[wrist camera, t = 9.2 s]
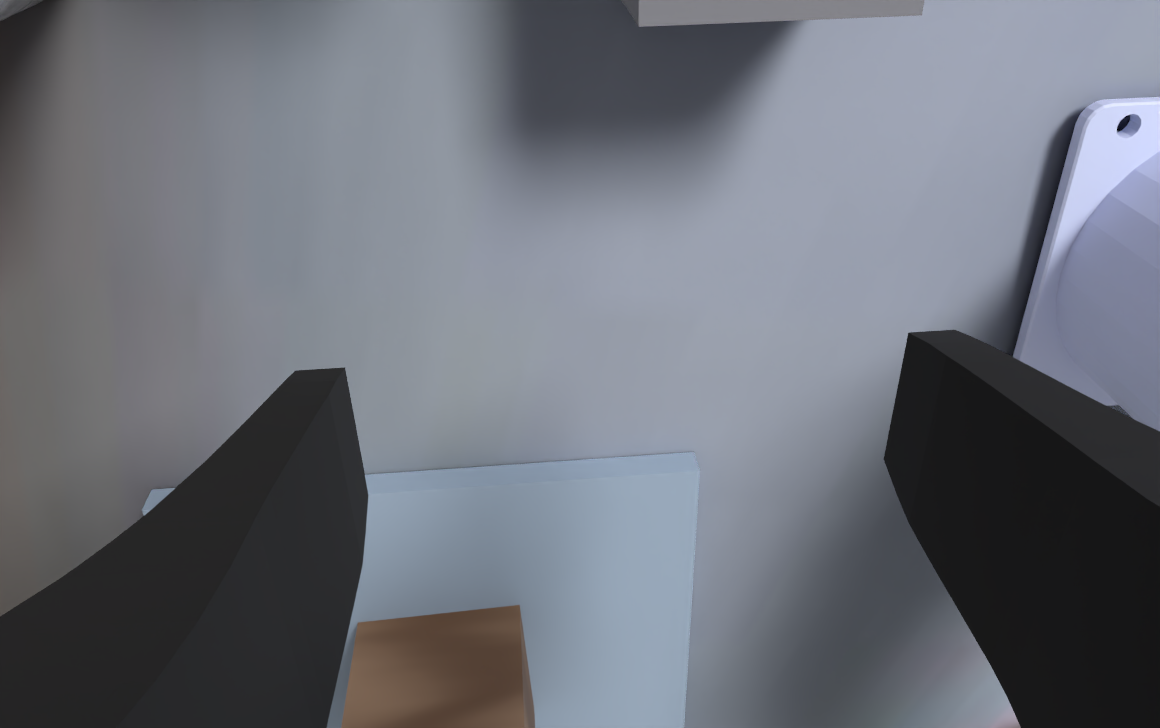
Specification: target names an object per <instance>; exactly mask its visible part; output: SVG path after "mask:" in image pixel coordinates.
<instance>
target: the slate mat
mask: <svg viewBox="0 0 1160 728" xmlns="http://www.w3.org/2000/svg"><path fill="white" fill-rule="evenodd" d="M699 478H700V469H699V466H698V463H697V460H696V457H695V453H694V452H685V453H671V454H657V455H642V456H628V457H613V458H599V459H584V460H570V461H555V462H541V463H526V464H512V465H497V466H483V467H469V468H454V469H440V470H425V471H411V472H396V473H382V474H367V475H365V479H366V485H367V490H368V495H369V496H368V509H367V522H366V535H365V545H364V556H363V565H362V570H361V575H360V580H359V584H358V589H357V593H356V598H355V603H354V607H353V612H352V616H351V621H350V625H349V630H348V634H347V639H346V643H345V647H344V652H343V656H342V661H341V665H340V670H339V674H338V679H337V683H336V687H335V692H334V696H333V701H332V705H331V710H330V714H329V719H328V724H327V728H341V725H342V719H343V713H344V706H345V700H346V694H347V688H348V681H349V675H350V669H351V662H352V656H353V650H354V643H355V637H356V631H357V624H358V622H367V621H377V620H386V619H395V618H404V617H413V616H422V615H431V614H440V613H450V612H459V611H468V610H477V609H486V608H495V607H504V606H513V605H520V611H521V618H522V625H523V632H524V639H525V646H526V653H527V660H528V668H529V675H530V682H531V689H532V696H533V703H534V713H535V728H684V721H685V705H686V689H687V673H688V656H689V640H690V624H691V608H692V592H693V575H694V559H695V543H696V527H697V511H698V495H699ZM174 489H175V488H165V489H152V490H151V492H150V494H149V496H148V498H147V500H146V503H145V505H144V507H143V509H142V512H143V515H146V514H147V513H148V512H149V511H150V510H152V509H153V508H154V507H155V506H156V505H157V504H158V503H159V502H160V501H162V500H163V499H164V498H165V497H166V496H167V495H168V494H169V493H171V492H172V491H173V490H174Z"/></svg>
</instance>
